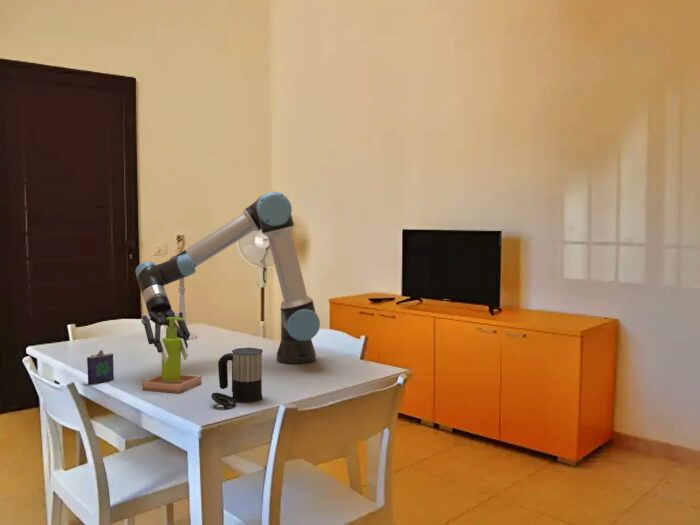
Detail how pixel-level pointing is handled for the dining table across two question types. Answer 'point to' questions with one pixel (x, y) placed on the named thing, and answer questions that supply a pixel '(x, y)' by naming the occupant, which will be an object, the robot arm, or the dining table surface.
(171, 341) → the soap dispenser
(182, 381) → the holder dish
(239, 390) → the milk frother
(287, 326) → the robot arm
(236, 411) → the dining table surface
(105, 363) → the flask
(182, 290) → the candlestick
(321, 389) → the dining table surface
